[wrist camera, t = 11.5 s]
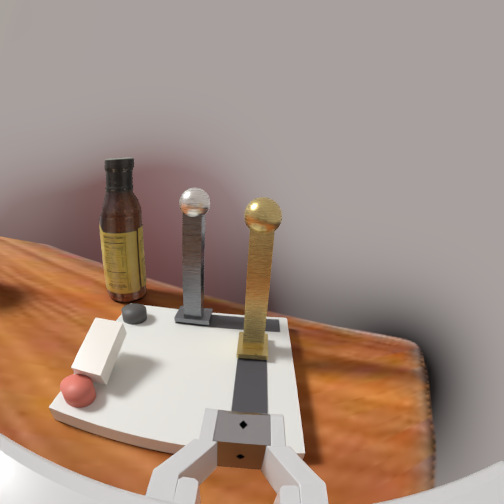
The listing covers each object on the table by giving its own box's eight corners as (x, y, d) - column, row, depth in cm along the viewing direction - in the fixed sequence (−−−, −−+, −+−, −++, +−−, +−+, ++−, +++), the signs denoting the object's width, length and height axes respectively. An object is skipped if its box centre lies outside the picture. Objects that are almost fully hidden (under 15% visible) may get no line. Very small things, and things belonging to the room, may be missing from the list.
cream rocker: (78, 377, 21) (71, 367, 20) (100, 328, 26) (95, 317, 25) (106, 385, 21) (100, 375, 20) (126, 333, 26) (122, 322, 25)
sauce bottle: (127, 283, 45) (124, 158, 40) (155, 293, 43) (154, 157, 37) (97, 297, 40) (89, 159, 34) (125, 309, 37) (118, 157, 32)
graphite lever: (174, 321, 33) (172, 188, 28) (181, 308, 36) (180, 186, 31) (208, 325, 32) (211, 190, 28) (212, 312, 36) (216, 187, 31)
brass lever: (235, 357, 27) (244, 198, 23) (238, 335, 31) (246, 193, 27) (268, 359, 27) (285, 201, 23) (268, 337, 31) (281, 196, 27)
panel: (54, 419, 17) (43, 396, 17) (132, 313, 37) (129, 294, 36) (301, 463, 17) (308, 444, 16) (285, 328, 36) (287, 309, 36)
